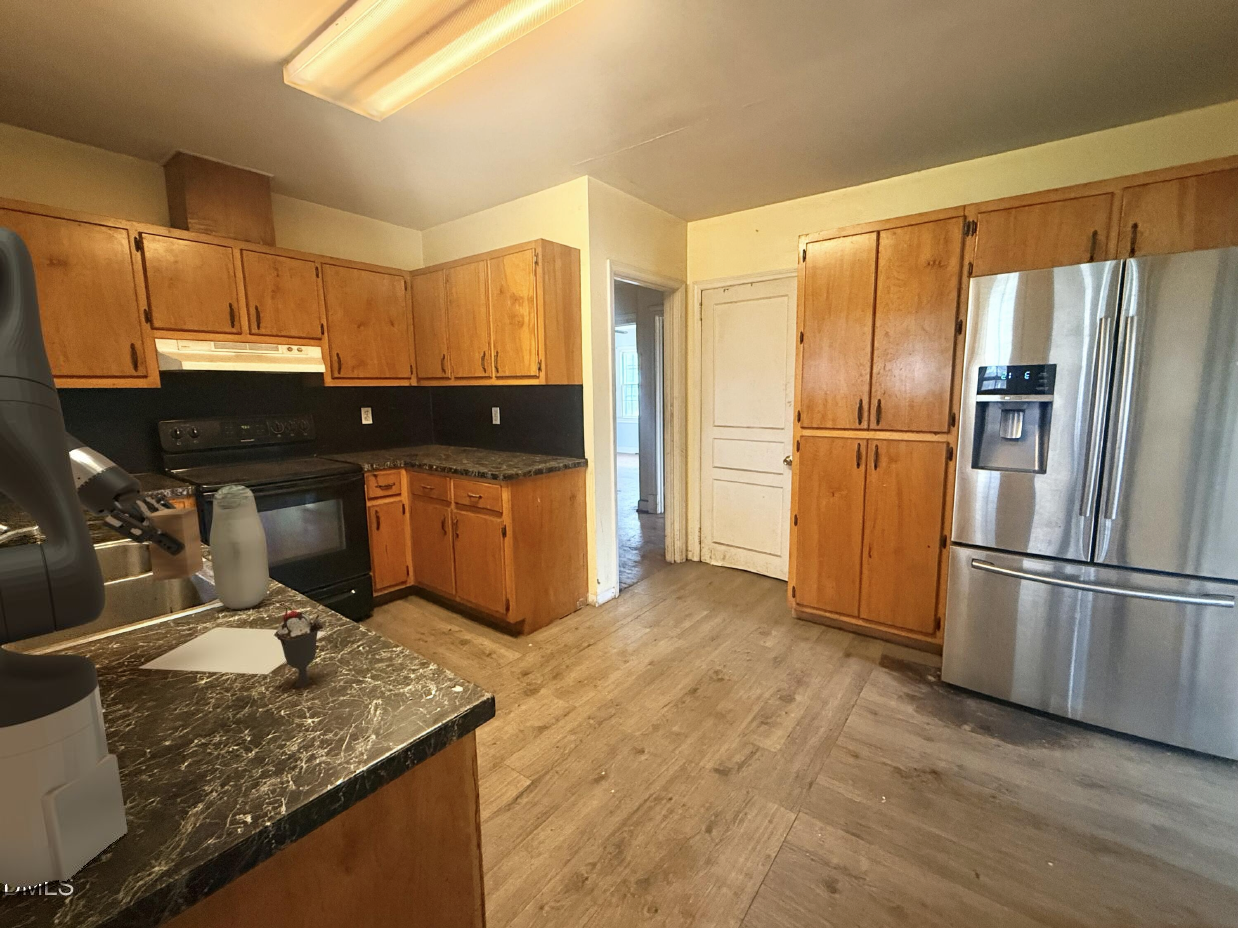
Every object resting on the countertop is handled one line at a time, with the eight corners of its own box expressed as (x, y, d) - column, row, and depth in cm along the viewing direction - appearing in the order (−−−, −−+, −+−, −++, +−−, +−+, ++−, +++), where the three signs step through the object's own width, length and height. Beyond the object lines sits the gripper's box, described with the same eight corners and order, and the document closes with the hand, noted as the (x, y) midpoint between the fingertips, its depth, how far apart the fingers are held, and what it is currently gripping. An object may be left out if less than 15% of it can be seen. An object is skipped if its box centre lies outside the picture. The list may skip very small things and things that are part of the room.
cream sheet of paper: (327, 635, 105) (327, 631, 105) (267, 678, 89) (266, 674, 89) (216, 630, 107) (216, 627, 107) (139, 672, 92) (138, 667, 92)
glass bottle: (215, 606, 120) (201, 485, 116) (268, 594, 127) (256, 480, 123) (219, 620, 113) (205, 491, 109) (276, 606, 119) (264, 485, 116)
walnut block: (153, 580, 87) (145, 515, 86) (170, 570, 92) (162, 509, 91) (189, 577, 89) (181, 514, 87) (203, 568, 94) (196, 507, 92)
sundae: (270, 692, 85) (261, 604, 83) (311, 672, 91) (303, 590, 89) (295, 703, 82) (286, 611, 80) (335, 682, 88) (328, 596, 86)
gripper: (80, 470, 79) (184, 541, 84) (138, 459, 93) (224, 521, 98) (41, 507, 78) (148, 577, 83) (105, 490, 92) (194, 551, 97)
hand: (189, 546), depth 90 cm, fingers closed on walnut block, 5 cm apart
